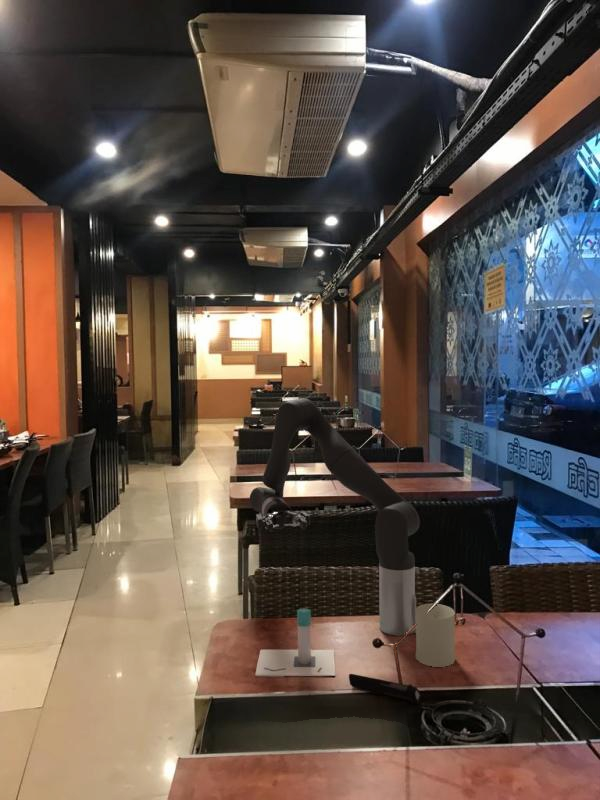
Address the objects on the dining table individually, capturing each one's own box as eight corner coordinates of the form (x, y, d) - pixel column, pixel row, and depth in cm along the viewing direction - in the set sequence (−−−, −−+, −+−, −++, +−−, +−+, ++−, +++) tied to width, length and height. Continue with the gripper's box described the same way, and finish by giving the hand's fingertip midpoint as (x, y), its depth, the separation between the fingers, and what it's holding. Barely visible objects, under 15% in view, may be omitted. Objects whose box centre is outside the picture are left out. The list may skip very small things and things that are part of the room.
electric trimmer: (352, 683, 134) (352, 669, 134) (421, 697, 127) (421, 682, 127) (346, 691, 130) (346, 676, 130) (417, 706, 124) (417, 691, 123)
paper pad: (333, 651, 147) (333, 649, 147) (335, 676, 135) (335, 674, 135) (260, 651, 148) (260, 649, 148) (255, 676, 136) (255, 674, 136)
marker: (311, 658, 143) (311, 608, 143) (311, 664, 140) (310, 613, 139) (298, 658, 143) (297, 608, 143) (297, 664, 140) (296, 613, 140)
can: (419, 668, 139) (419, 617, 138) (411, 649, 148) (411, 601, 147) (459, 667, 139) (459, 616, 138) (449, 648, 148) (449, 601, 147)
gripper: (251, 500, 171) (260, 514, 155) (300, 497, 174) (314, 510, 159) (252, 526, 172) (261, 542, 156) (300, 523, 175) (314, 538, 159)
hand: (288, 526), depth 157 cm, fingers open, 8 cm apart
